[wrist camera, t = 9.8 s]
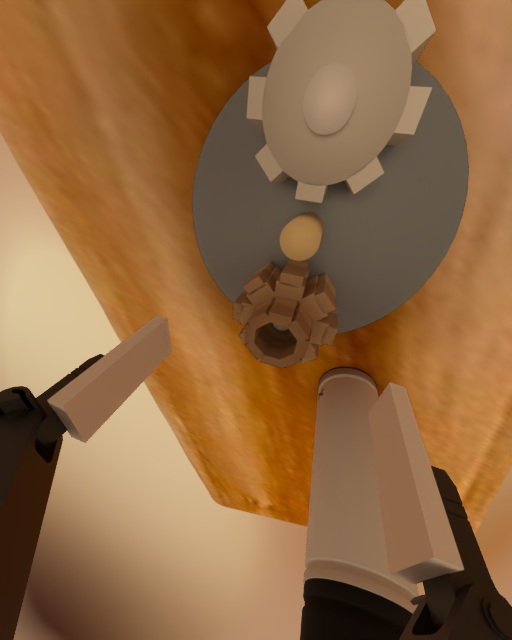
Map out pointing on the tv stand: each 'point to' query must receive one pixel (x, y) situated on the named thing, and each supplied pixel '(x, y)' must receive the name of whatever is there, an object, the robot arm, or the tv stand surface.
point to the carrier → (336, 160)
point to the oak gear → (286, 314)
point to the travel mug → (349, 524)
